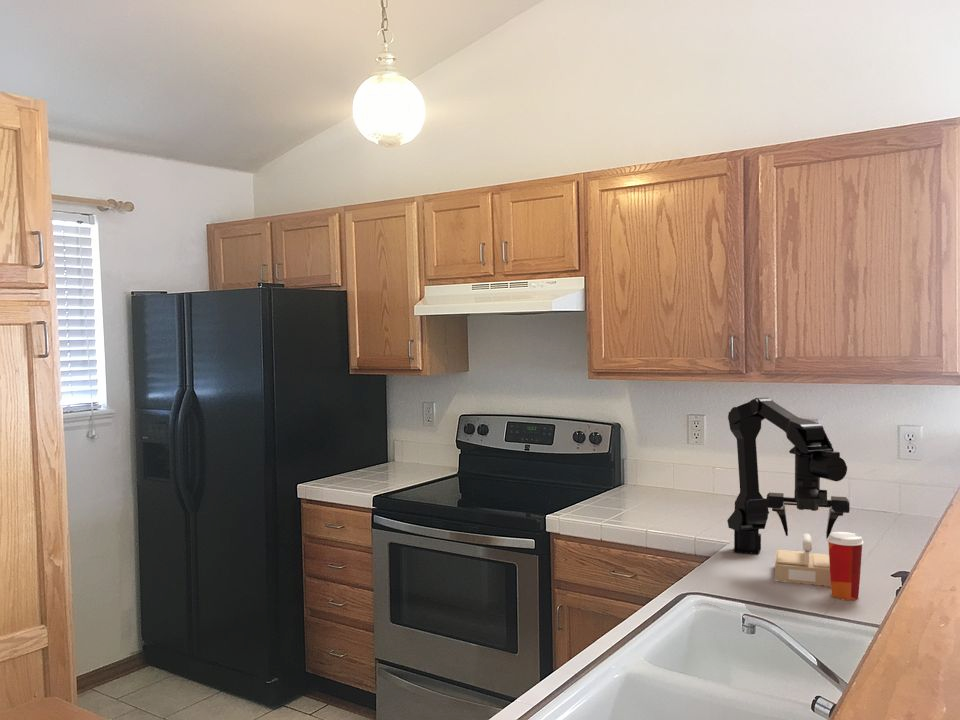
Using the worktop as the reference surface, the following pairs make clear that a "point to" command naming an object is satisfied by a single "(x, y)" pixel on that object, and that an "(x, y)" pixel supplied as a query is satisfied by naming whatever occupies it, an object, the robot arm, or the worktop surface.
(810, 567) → the carton
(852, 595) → the paper cup
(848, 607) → the worktop surface
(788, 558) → the flap
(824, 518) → the worktop surface
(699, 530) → the worktop surface
